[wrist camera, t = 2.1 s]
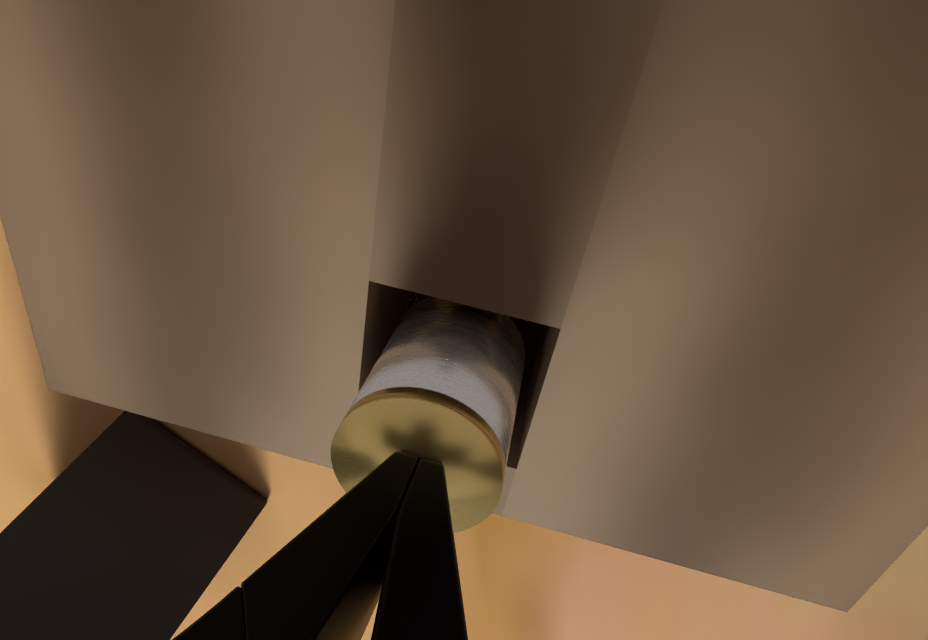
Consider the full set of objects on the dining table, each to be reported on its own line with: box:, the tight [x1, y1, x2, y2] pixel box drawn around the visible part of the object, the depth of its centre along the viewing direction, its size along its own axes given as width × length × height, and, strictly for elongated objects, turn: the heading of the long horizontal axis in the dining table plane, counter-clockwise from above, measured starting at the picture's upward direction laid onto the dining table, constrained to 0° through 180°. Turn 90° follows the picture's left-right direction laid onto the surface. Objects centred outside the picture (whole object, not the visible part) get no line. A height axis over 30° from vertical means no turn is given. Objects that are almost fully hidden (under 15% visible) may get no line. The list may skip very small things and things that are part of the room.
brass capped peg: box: [331, 296, 525, 533], centre depth 11 cm, size 3×3×4 cm
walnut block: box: [0, 0, 928, 612], centre depth 11 cm, size 20×17×4 cm
